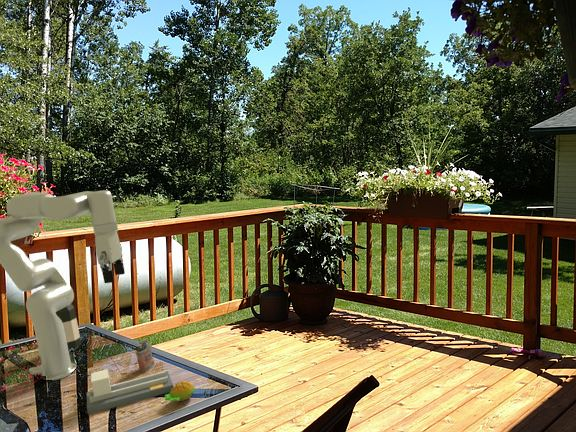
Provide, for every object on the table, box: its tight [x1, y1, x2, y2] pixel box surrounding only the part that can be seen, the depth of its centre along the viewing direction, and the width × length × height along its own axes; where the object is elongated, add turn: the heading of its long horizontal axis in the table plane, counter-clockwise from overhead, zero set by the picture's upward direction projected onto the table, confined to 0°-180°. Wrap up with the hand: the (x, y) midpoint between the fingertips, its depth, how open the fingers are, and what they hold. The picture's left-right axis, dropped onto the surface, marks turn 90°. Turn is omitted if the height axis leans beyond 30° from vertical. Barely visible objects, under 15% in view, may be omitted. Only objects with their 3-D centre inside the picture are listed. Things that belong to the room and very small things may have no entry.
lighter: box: [135, 337, 155, 374], centre depth 193 cm, size 8×3×10 cm, turn 168°
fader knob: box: [90, 368, 111, 397], centre depth 172 cm, size 5×7×6 cm
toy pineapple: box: [164, 380, 196, 403], centre depth 166 cm, size 7×10×5 cm
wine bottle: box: [56, 303, 82, 349], centre depth 221 cm, size 8×8×30 cm
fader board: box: [86, 370, 174, 415], centre depth 175 cm, size 26×12×4 cm, turn 110°
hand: (115, 278), depth 183 cm, fingers open, 9 cm apart
